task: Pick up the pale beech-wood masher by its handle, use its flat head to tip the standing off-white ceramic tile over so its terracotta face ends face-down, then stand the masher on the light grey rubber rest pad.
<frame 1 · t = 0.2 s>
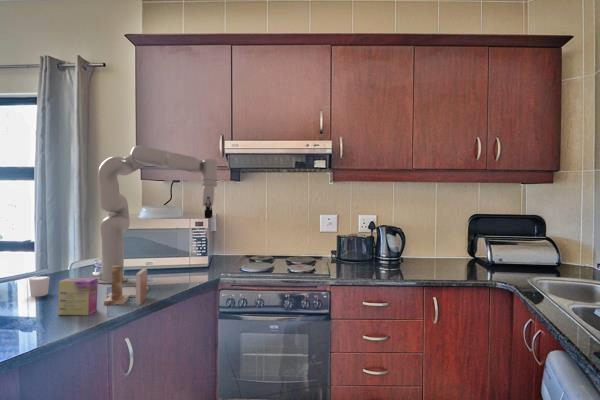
hand: (208, 217, 178), 31 cm above the worktop, fingers open, 9 cm apart
box: (78, 313, 124), on the worktop
tile: (141, 301, 139), on the worktop
masher: (116, 301, 138), on the worktop
white cup: (39, 295, 145), on the worktop
rest pad: (128, 293, 150), on the worktop
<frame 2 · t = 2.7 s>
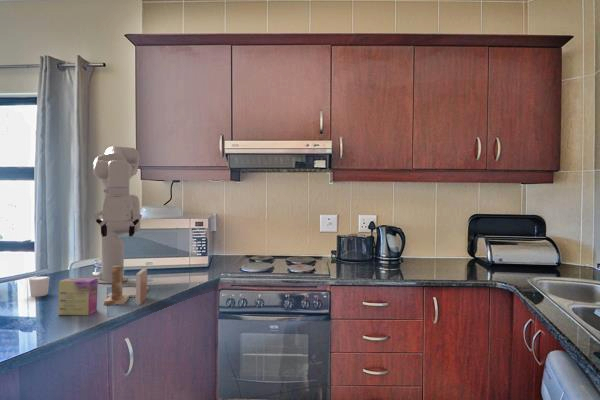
hand: (117, 236, 137), 26 cm above the worktop, fingers open, 9 cm apart
nothing on the worktop moved.
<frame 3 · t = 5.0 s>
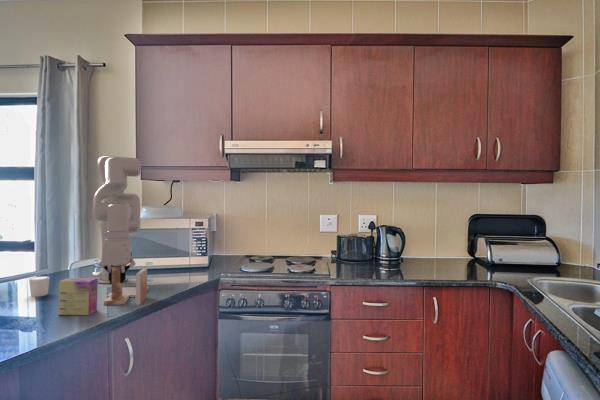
hand: (117, 282, 138), 8 cm above the worktop, fingers closed on masher, 3 cm apart
masher: (116, 301, 138), on the worktop, touching gripper
everything else where it was.
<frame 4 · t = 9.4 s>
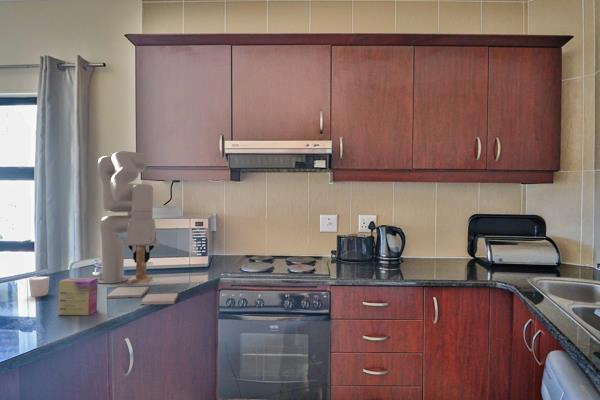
hand: (141, 261, 139), 16 cm above the worktop, fingers closed on masher, 3 cm apart
tile: (144, 299, 140), on the worktop, tilted 90°
masher: (141, 281, 139), point 8 cm above the worktop, touching gripper
everything else where it was.
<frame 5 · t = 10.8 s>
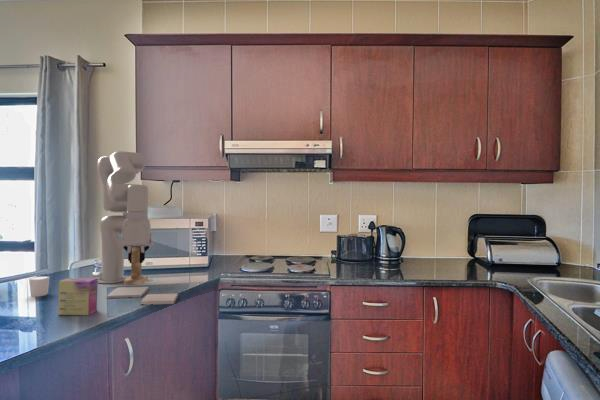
hand: (136, 262, 139), 15 cm above the worktop, fingers closed on masher, 3 cm apart
masher: (136, 281, 139), point 8 cm above the worktop, touching gripper
everything else where it was.
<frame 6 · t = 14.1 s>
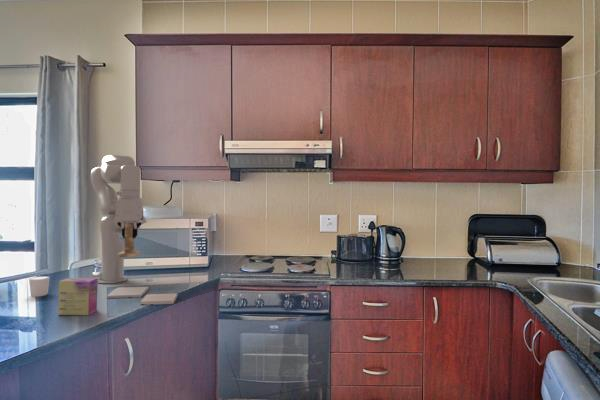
hand: (129, 237, 149), 24 cm above the worktop, fingers closed on masher, 3 cm apart
masher: (129, 255, 149), point 16 cm above the worktop, touching gripper
everything else where it was.
when the fingers open (10 cm above the worktop, at t = 16.8 s): masher stays where it is, resting on rest pad.
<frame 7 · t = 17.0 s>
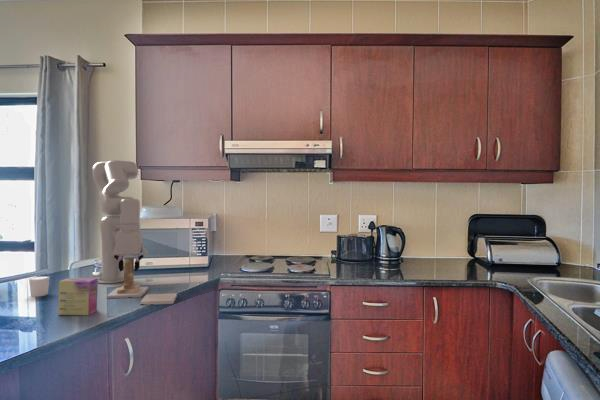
hand: (129, 270, 150), 10 cm above the worktop, fingers open, 5 cm apart
masher: (128, 291, 150), point 1 cm above the worktop, touching rest pad
everything else where it was.
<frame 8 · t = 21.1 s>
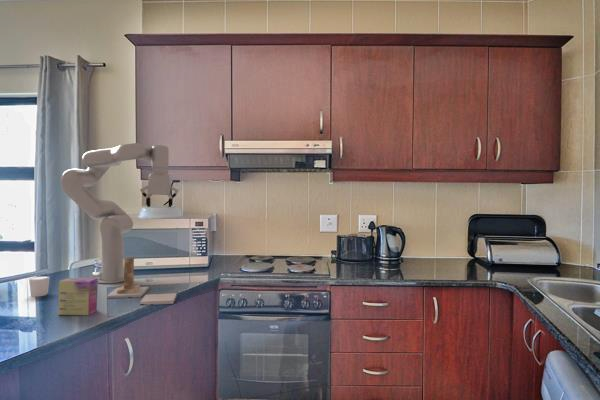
hand: (159, 206, 170), 36 cm above the worktop, fingers open, 9 cm apart
nothing on the worktop moved.
at the end: tile tilted 90°; masher inside the target area on the rest pad (0.1 cm from its centre), point 1.0 cm above the rest pad's base; the gripper is holding nothing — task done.
